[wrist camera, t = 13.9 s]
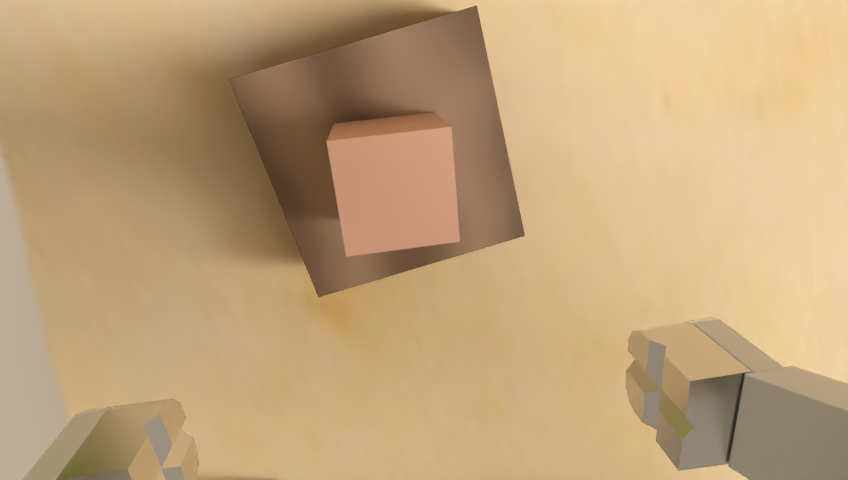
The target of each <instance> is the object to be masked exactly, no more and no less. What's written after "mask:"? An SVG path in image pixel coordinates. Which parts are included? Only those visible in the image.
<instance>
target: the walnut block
mask: <svg viewBox="0 0 848 480" xmlns="http://www.w3.org/2000/svg"><path fill="white" fill-rule="evenodd" d="M229 81H230V83H231V85H232V88H233V90H234V93H235V95H236V98H237V100H238V102H239V105H240V107H241V110H242V112H243V115H244V117H245V119H246V122H247V124H248V127H249V129H250V132H251V134H252V137H253V139H254V141H255V144H256V146H257V149H258V151H259V154H260V156H261V158H262V161H263V163H264V166H265V168H266V171H267V173H268V175H269V178H270V180H271V183H272V185H273V188H274V190H275V192H276V195H277V197H278V200H279V202H280V205H281V207H282V209H283V212H284V214H285V217H286V219H287V222H288V224H289V226H290V229H291V231H292V234H293V236H294V239H295V241H296V243H297V246H298V248H299V251H300V253H301V256H302V258H303V260H304V263H305V265H306V268H307V270H308V273H309V275H310V277H311V280H312V282H313V285H314V287H315V290H316V292H317V294H318V297H321V296H324V295H328V294H331V293H334V292H338V291H341V290H344V289H348V288H351V287H355V286H358V285H361V284H365V283H368V282H371V281H375V280H378V279H381V278H385V277H388V276H391V275H395V274H398V273H401V272H405V271H408V270H412V269H415V268H418V267H422V266H425V265H428V264H432V263H435V262H438V261H442V260H445V259H448V258H452V257H455V256H459V255H462V254H465V253H469V252H472V251H475V250H479V249H482V248H485V247H489V246H492V245H495V244H499V243H502V242H505V241H509V240H512V239H516V238H519V237H522V236H525V235H524V230H523V225H522V220H521V215H520V211H519V206H518V201H517V196H516V191H515V187H514V182H513V177H512V172H511V168H510V163H509V158H508V153H507V148H506V144H505V139H504V134H503V129H502V124H501V120H500V115H499V110H498V105H497V100H496V96H495V91H494V86H493V81H492V76H491V72H490V67H489V62H488V57H487V52H486V48H485V43H484V38H483V33H482V29H481V24H480V19H479V14H478V9H477V6H474V7H470V8H467V9H464V10H460V11H457V12H453V13H450V14H447V15H443V16H440V17H437V18H433V19H430V20H427V21H423V22H420V23H417V24H413V25H410V26H407V27H403V28H400V29H396V30H393V31H390V32H386V33H383V34H380V35H376V36H373V37H370V38H366V39H363V40H360V41H356V42H353V43H349V44H346V45H343V46H339V47H336V48H333V49H329V50H326V51H323V52H319V53H316V54H313V55H309V56H306V57H303V58H299V59H296V60H292V61H289V62H286V63H282V64H279V65H276V66H272V67H269V68H266V69H262V70H259V71H256V72H252V73H249V74H245V75H242V76H239V77H235V78H232V79H229ZM431 112H435V113H437V114H438V115H439V116H440V117H441V118H442V119H443V120H444V121H446V122H447V123H448V124H449V125H450V126H451V127H452V140H453V153H454V167H455V181H456V194H457V208H458V222H459V235H460V242H454V243H446V244H439V245H431V246H424V247H416V248H408V249H401V250H393V251H386V252H378V253H371V254H363V255H356V256H348V257H346V253H345V247H344V241H343V235H342V229H341V223H340V218H339V212H338V206H337V200H336V194H335V188H334V182H333V177H332V171H331V165H330V159H329V153H328V147H327V139H328V136H329V134H330V132H331V129H332V127H333V125H334V123H343V122H352V121H360V120H369V119H378V118H387V117H396V116H405V115H414V114H423V113H431Z"/></svg>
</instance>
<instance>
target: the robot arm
mask: <svg viewBox="0 0 848 480" xmlns="http://www.w3.org/2000/svg"><path fill="white" fill-rule="evenodd" d="M628 351H629V353H630V354H631V355H632V356H633V357H634V359H635V360H634V361H633V363H632V364H631V365H630V366H629V368H628V369H627V370H626V389H627V393H628V397H629V401H630V403H631V405H632V407H633V409H634V411H635V413H636V414H637V416H638V417H639V418H640V420H641V421H642V422H643V423H645V424H647V425H649V426H651V427H653V428H655V429H657V435H656V441H657V443H658V444H659V445H660V447H661V448H662V449H663V451H664V452H665V453H666V455H667V456H668V457H669V458H670V460H671V461H672V462H673V464H674V465H675V466H676V468H677V469H678V470H679V471H680V470H687V469H694V468H702V467H709V466H716V465H723V464H729V465H728V466H729V467H730V468H732V469H733V470H735V471H737V472H738V473H740V474H742V475H743V476H745V477H746V478H748V479H750V480H848V384H846V383H843V382H840V381H837V380H834V379H831V378H828V377H825V376H822V375H819V374H815V373H812V372H809V371H806V370H803V369H800V368H797V367H794V366H790V367H783V366H781V365H780V364H779V363H777V362H776V361H775V360H773V359H772V358H771V357H769V356H768V355H767V354H765V353H764V352H762V351H761V350H760V349H758V348H757V347H756V346H754V345H753V344H752V343H750V342H749V341H748V340H746V339H745V338H744V337H742V336H741V335H740V334H738V333H737V332H736V331H734V330H733V329H732V328H730V327H729V326H728V325H726V324H725V323H724V322H722V321H721V320H719V319H716V318H712V317H709V318H703V319H698V320H692V321H687V322H684V323H679V324H673V325H667V326H661V327H654V328H648V329H642V330H636V331H632V332H631V335H630V337H629V341H628ZM185 419H186V416H185V414H184V411H183V409H182V406H181V404H180V402H178V401H176V400H174V399H168V400H160V401H152V402H144V403H136V404H128V405H121V406H115V407H106V408H99V409H93V410H86V411H83V412H81V413H79V414H76V415H75V416H74V417H73V419H72V420H71V421H70V422H69V424H68V425H67V426H66V427H65V428H64V430H63V431H62V432H61V433H60V435H59V436H58V437H57V438H56V440H55V441H54V442H53V443H52V444H51V446H50V447H49V448H48V449H47V450H46V452H45V453H44V454H43V455H42V457H41V458H40V459H39V460H38V462H37V463H36V464H35V465H34V467H33V468H32V469H31V470H30V471H29V473H28V474H27V475H26V476H25V477H24V479H23V480H197V472H198V463H199V462H198V454H197V448H196V445H195V442H194V439H193V437H191V436H190V435H189V434H187V433H186V432H184V431H183V430H181V427H182V425H183V423H184V421H185Z"/></svg>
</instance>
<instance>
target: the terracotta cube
mask: <svg viewBox="0 0 848 480" xmlns="http://www.w3.org/2000/svg"><path fill="white" fill-rule="evenodd" d="M327 147H328V153H329V159H330V165H331V171H332V177H333V182H334V188H335V194H336V200H337V206H338V212H339V218H340V223H341V229H342V235H343V241H344V247H345V253H346V257H348V256H356V255H363V254H371V253H378V252H386V251H393V250H401V249H408V248H416V247H424V246H431V245H439V244H446V243H454V242H460V235H459V222H458V208H457V194H456V181H455V167H454V153H453V140H452V127H451V126H450V125H449V124H448V123H447V122H446V121H444V120H443V119H442V118H441V117H440V116H439V115H438V114H437V113H435V112H431V113H423V114H414V115H405V116H396V117H387V118H378V119H369V120H360V121H352V122H343V123H334V125H333V127H332V129H331V132H330V134H329V136H328V139H327Z"/></svg>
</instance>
